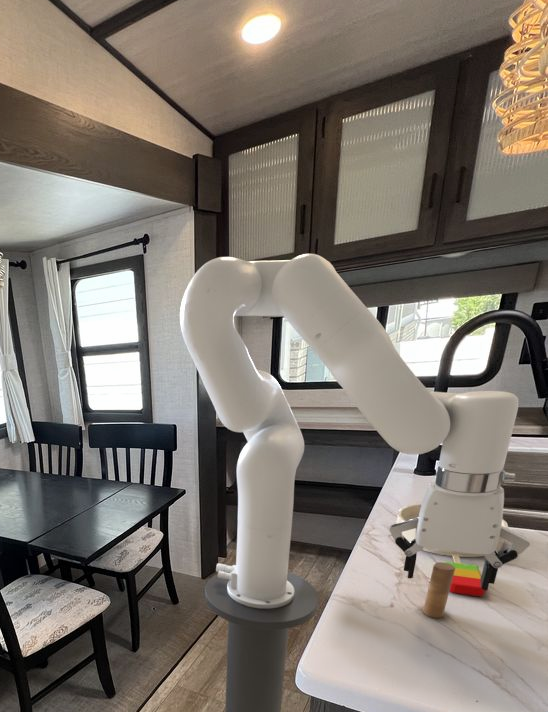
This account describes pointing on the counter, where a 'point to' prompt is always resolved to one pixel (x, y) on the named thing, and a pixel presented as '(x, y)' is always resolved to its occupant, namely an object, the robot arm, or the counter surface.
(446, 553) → the bowl
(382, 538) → the counter surface
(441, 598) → the brown cylinder
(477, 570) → the popsicle
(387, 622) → the counter surface
